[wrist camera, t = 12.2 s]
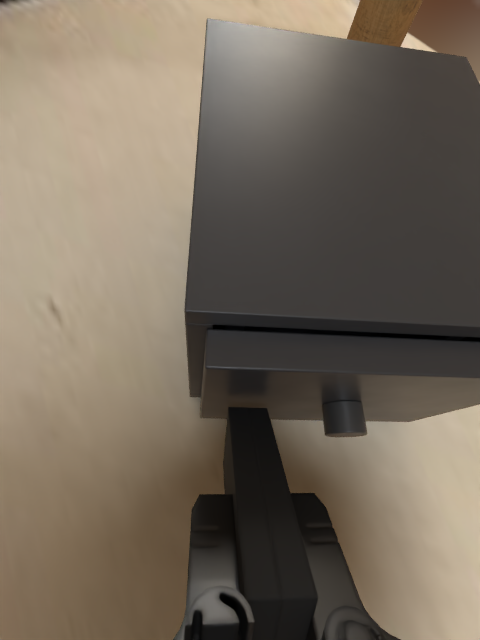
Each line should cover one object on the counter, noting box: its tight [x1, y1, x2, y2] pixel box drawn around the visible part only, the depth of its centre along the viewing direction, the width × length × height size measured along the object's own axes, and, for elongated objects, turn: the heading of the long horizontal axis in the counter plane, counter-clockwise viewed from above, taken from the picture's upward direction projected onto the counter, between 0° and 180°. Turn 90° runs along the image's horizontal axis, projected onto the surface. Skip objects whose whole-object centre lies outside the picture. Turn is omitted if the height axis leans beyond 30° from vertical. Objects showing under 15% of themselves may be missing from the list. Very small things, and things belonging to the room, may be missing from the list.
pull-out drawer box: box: [200, 325, 480, 437], centre depth 16 cm, size 15×11×9 cm
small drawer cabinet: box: [185, 18, 480, 397], centre depth 17 cm, size 15×13×11 cm
